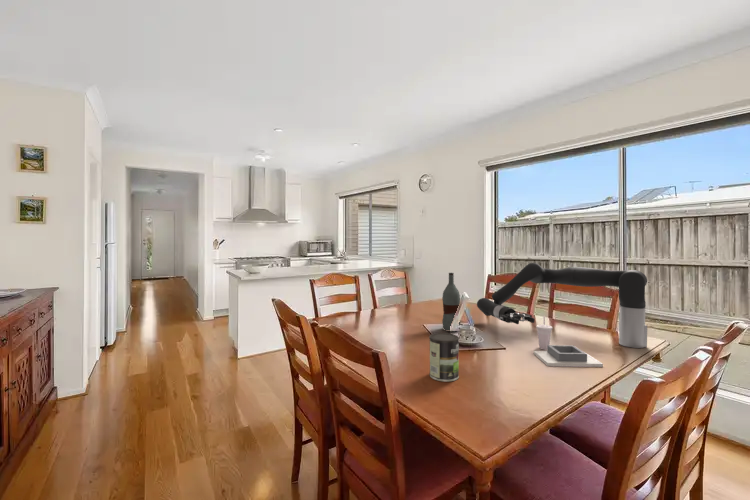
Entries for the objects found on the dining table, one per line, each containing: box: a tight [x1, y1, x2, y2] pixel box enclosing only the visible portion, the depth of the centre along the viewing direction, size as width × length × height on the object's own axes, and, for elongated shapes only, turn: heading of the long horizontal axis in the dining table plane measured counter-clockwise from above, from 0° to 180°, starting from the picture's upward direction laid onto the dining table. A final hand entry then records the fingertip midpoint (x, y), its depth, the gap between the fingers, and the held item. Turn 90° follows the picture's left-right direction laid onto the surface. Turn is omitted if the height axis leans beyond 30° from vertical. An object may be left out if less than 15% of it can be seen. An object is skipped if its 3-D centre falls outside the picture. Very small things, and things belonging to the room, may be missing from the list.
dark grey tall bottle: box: [442, 272, 461, 330], centre depth 183 cm, size 9×9×30 cm
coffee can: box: [428, 332, 460, 383], centre depth 124 cm, size 10×10×14 cm
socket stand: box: [533, 344, 604, 368], centre depth 138 cm, size 20×14×4 cm
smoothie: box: [535, 315, 553, 351], centre depth 152 cm, size 6×6×14 cm
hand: (526, 321), depth 163 cm, fingers open, 8 cm apart
